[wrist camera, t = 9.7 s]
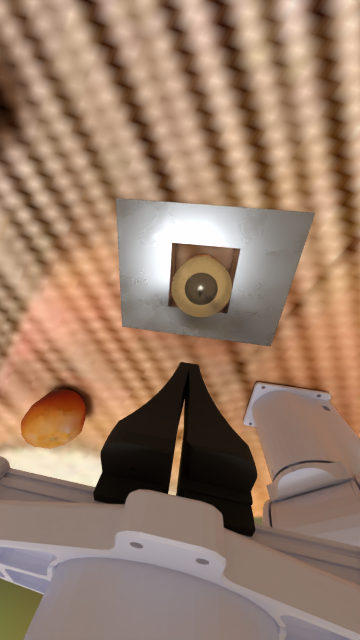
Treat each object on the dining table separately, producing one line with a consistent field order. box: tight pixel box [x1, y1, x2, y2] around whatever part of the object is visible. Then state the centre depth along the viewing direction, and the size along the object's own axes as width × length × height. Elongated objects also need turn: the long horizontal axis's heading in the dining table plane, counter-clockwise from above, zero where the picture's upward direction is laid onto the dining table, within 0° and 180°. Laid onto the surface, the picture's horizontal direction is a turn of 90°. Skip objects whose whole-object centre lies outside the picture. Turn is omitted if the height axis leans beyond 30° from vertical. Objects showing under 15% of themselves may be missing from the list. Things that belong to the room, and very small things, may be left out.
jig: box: [116, 198, 315, 346], centre depth 18 cm, size 16×12×3 cm
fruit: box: [21, 388, 86, 449], centre depth 27 cm, size 8×8×8 cm
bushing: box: [171, 254, 232, 317], centre depth 16 cm, size 4×4×7 cm
